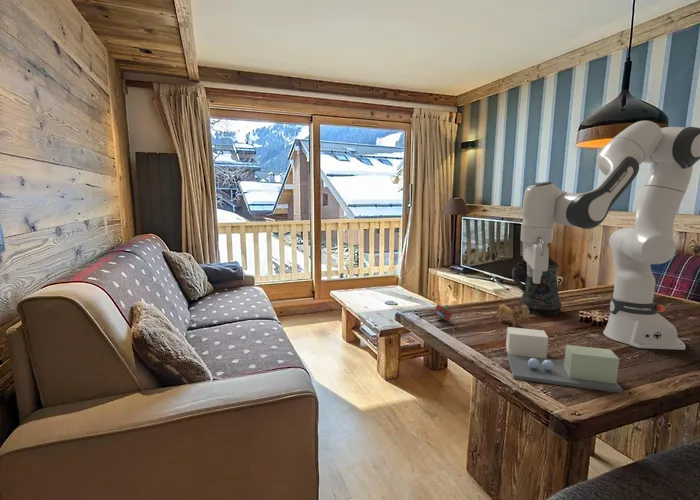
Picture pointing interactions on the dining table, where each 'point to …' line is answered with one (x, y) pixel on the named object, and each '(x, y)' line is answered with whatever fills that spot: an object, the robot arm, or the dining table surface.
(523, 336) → the beige eraser-shaped brick
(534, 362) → the marble
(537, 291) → the beer stein
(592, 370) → the pale green prism
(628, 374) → the dining table surface
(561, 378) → the slate board
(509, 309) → the lion figurine
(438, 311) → the geometric puzzle
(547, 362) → the marble
